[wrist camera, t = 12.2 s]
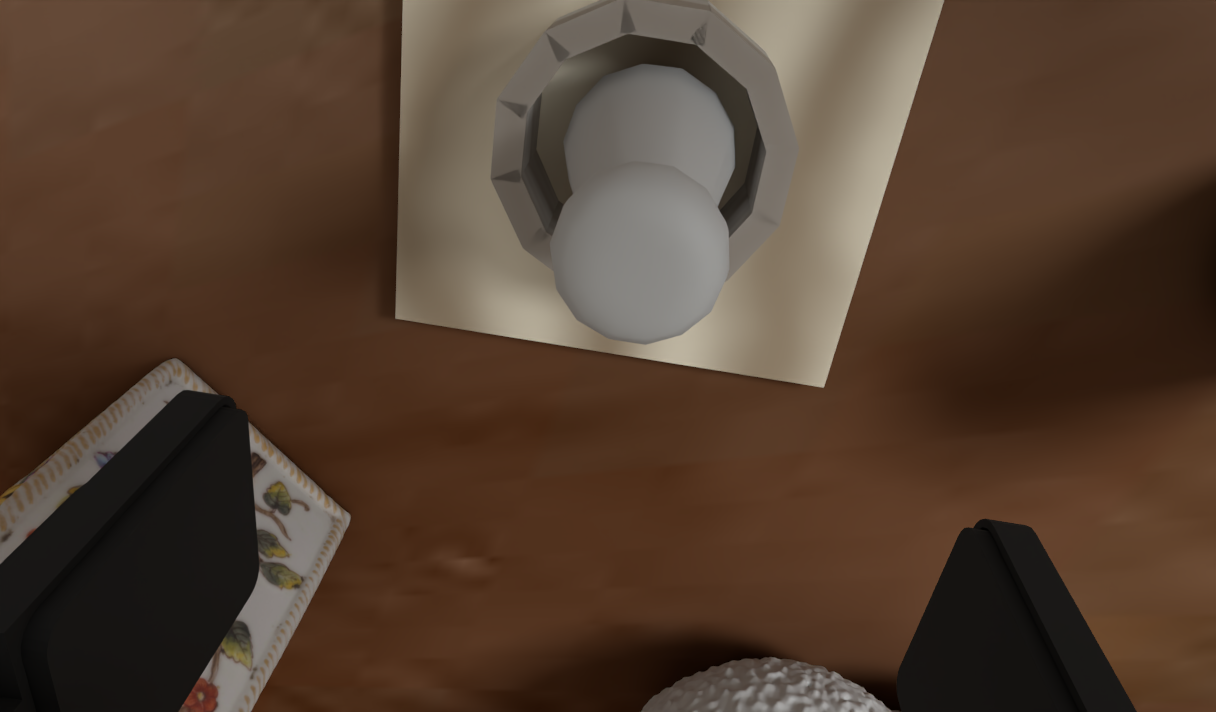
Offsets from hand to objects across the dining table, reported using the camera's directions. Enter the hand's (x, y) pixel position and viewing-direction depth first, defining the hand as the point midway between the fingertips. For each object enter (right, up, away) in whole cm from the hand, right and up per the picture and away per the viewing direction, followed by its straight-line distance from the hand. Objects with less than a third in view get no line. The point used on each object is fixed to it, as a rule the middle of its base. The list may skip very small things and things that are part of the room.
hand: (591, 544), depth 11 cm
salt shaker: (+2, +11, +20) cm, 22 cm away
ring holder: (+2, +11, +20) cm, 23 cm away
